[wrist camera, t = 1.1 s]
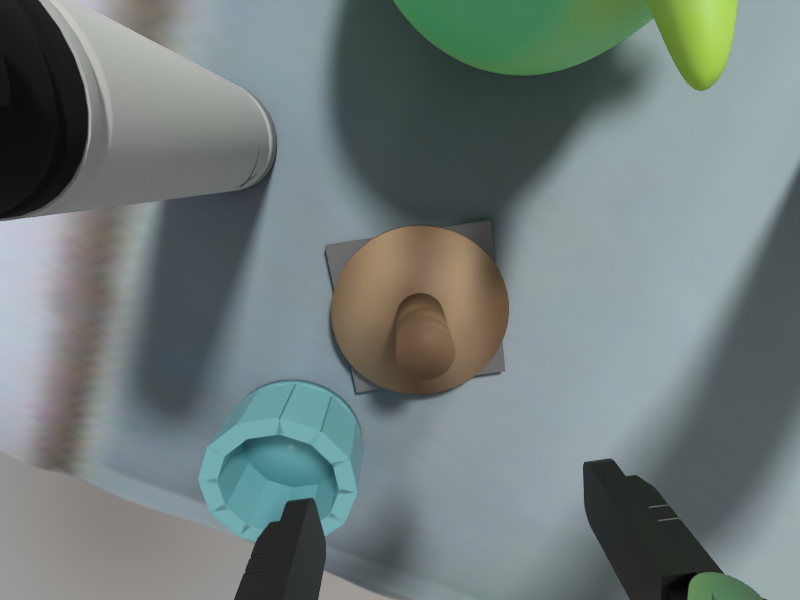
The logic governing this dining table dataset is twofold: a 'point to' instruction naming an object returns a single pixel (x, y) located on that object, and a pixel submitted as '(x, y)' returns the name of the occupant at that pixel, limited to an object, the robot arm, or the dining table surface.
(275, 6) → the dining table surface
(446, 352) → the lid
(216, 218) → the dining table surface
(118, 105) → the travel mug
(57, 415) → the dining table surface
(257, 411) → the bowl
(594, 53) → the toy bird
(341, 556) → the dining table surface
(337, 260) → the mat
